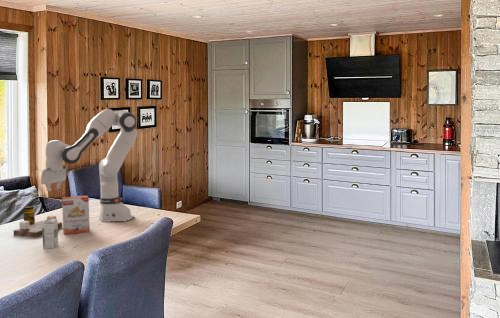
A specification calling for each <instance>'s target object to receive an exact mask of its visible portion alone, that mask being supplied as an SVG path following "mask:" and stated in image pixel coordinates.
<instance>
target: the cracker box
mask: <svg viewBox="0 0 500 318" xmlns="http://www.w3.org/2000/svg"><path fill="white" fill-rule="evenodd" d="M89 200H90V198H89V196H88V195H77V196H63V197H61V201H62V202H61V205H62V206H61V207H62V230H63V232H62V233H63V235H72V234H81V233H88V232H89V233H90V230H91V229H90V228H91V227H90V204H89V203H90V201H89Z"/></svg>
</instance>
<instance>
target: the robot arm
mask: <svg viewBox="0 0 500 318" xmlns="http://www.w3.org/2000/svg"><path fill="white" fill-rule="evenodd" d="M136 124H137V119H136V116H135V115H134V114H133V113H131V112H129V111H127V110H123V109H119V110H114V111H113V110H112V109H111V108H105V109H103V110H101V112H99V113H97V115H95V116H94V117H93V118H92V119H91V120H90V121H89V122H88V124H87V126H86V129H85V132H84V134H82V136H81V137H80V138H79V139H78V140H76V142H75V143H74V144H73V145H70V144H66V143H65V142H63V141H61V140H60V139H54V140H50V141H47V143H46V144H45V157H46V158H45V168H43V170H42V172H41V177H40V184H41V185H45V188H46V191H47V192H51V191H52V188H51V185H52V184H54V183H57V185H56V189H57V190H59V189H61V186H62V184H63V183H62V182H63V181H64V182H65V181H66V179H67V165H65V164H63V162H65V163H66V164H69V165H72V164H73V165H74V164H76V163H77V162H79V161H80V159H81V155H82V154H83V152H84V151H85V150H86V149H87V148H88V147H89V146H90V145H91V144H92V143H93V142H94V141H95V140H97V139H98V138H99V137H101V136H103V135H104V134H105V133H106V132H107V131H109V129H110V128H111V127H113V126H117V127H119V128H120V130H119V133H118V135H117V137H116V138H115V139H114V142H113V143H112V145H111V146H110V148H109V150H108V152H107V155H106V157H104V158H103V159H101V160H100V162H99V164H98V171H99V185H100V198H99V203H100V211H99V217H98V219H99V220H100V221H101V222H103V223H104V222H109V223H110V222H111V221H113V222H112V223H115V222H114V221H125V222H128V221H127V220H129V221H131V220H130V219H132V218H133V217H134V218H135V215H132V214H131V212H132V211H131V209H130V208H129V206H127V205H125V204H124V203H123V202H122V200H123V197H120V194H119V182H118V173H119V171H120V170H121V167H122V165H123V163H124V161H125V159H126V157H127V155H128V154H129V152H130V150H131V148H132V147H133V145H134V143H135V142H136V139H137V137H138V131H137V129H136ZM62 161H63V162H62ZM134 218H133V219H134ZM133 219H132V220H133Z"/></svg>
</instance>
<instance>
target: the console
mask: <svg viewBox="0 0 500 318" xmlns="http://www.w3.org/2000/svg"><path fill="white" fill-rule="evenodd" d="M43 221H44V220H39V221H37V222H36V221H35V223H34V224H31V225H29V227H30V228H28V229H20V227H19V228H17V229H14V230H13V236H14V237H15V236H16V237H25V238H36V239H37V238H38V237H43V230H42V222H43ZM57 224H58V230H60V229H61V228H62V229H63V221H62V222H61V221H57Z"/></svg>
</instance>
